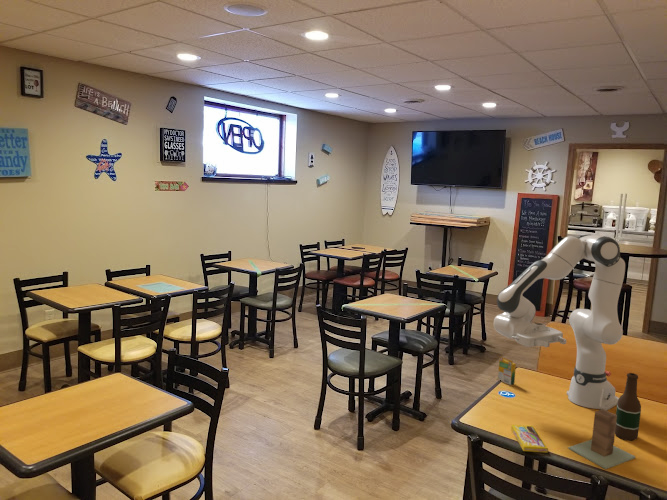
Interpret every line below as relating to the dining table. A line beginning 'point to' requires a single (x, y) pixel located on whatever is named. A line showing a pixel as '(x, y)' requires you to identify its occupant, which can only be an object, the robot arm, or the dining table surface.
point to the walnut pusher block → (603, 432)
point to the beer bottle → (628, 411)
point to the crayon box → (506, 371)
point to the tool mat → (605, 462)
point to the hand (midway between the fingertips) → (556, 343)
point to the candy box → (529, 438)
